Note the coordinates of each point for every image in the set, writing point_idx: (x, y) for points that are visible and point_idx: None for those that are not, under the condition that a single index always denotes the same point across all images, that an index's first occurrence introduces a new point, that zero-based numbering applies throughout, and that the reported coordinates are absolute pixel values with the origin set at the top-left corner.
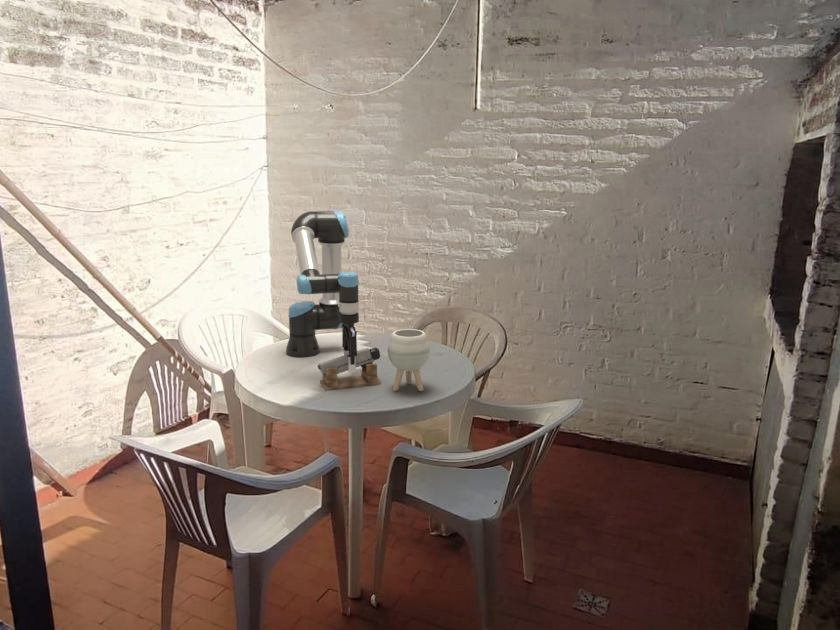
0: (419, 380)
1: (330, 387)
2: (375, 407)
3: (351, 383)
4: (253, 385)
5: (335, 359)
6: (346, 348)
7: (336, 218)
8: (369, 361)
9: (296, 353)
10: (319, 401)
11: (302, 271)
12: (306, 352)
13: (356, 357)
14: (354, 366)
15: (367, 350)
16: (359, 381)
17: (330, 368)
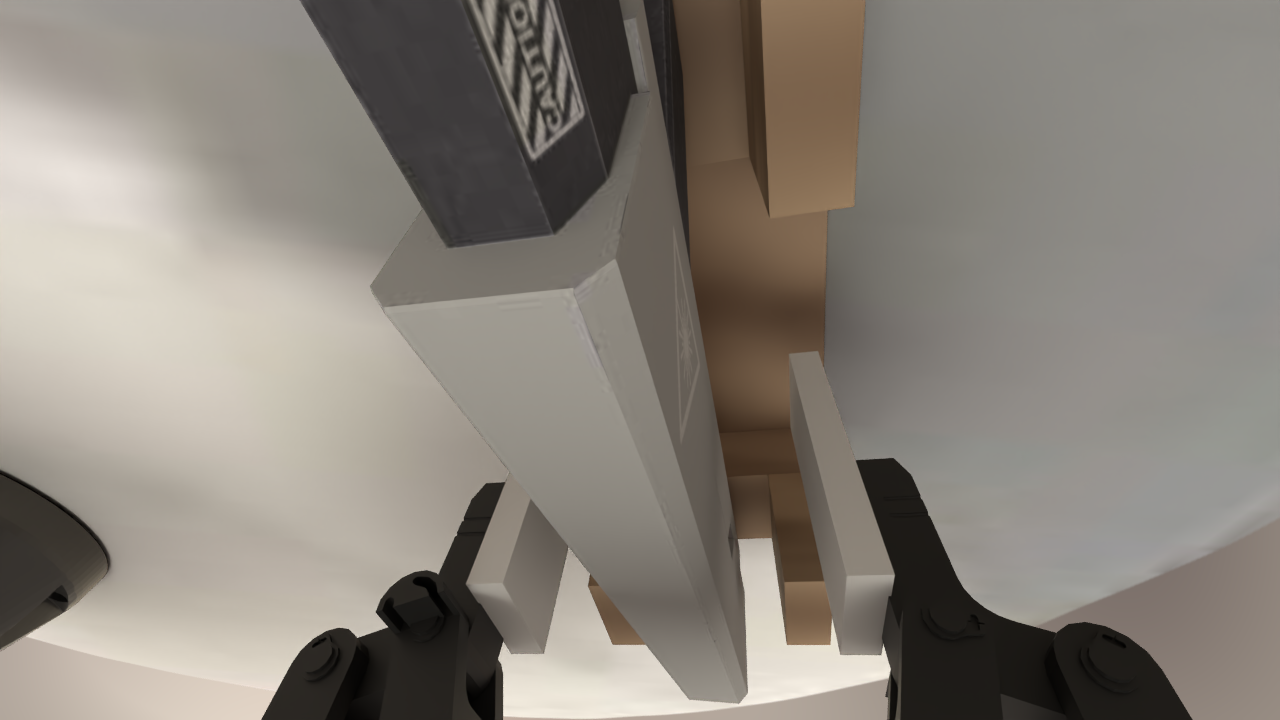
0: None
1: None
2: None
3: (769, 312)
4: (624, 703)
5: (721, 665)
6: (473, 678)
7: None
8: (661, 136)
9: (82, 577)
10: (1033, 534)
11: None
12: (34, 541)
13: (699, 459)
14: (833, 418)
15: (636, 320)
16: (725, 222)
17: (802, 621)
